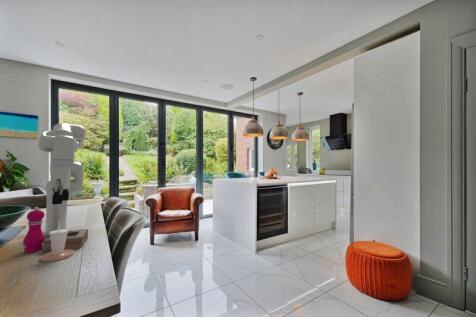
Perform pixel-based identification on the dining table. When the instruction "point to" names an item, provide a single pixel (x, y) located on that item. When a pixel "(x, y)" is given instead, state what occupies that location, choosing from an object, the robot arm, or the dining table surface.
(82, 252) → the dining table surface
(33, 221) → the pepper mill
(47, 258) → the tan round disc
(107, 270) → the dining table surface
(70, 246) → the bottle holder
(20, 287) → the dining table surface
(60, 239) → the smoothie
